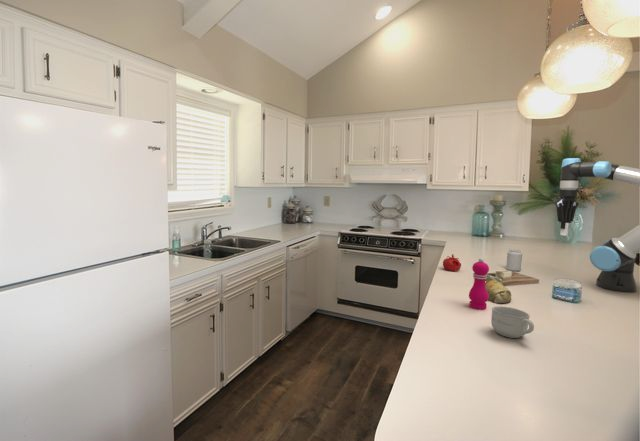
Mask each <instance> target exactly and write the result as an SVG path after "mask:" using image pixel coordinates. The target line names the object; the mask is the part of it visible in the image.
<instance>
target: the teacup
mask: <svg viewBox="0 0 640 441" xmlns="http://www.w3.org/2000/svg"><path fill="white" fill-rule="evenodd" d="M530 318H531V316H530V313H528V312H526V311H524V310H522V309H519V308H515V307H510V306H502V305H496V306H492V307H491V322H490V323H491V327H492V328H493V330H495V332H496V333H497V334H498V335H500V336H503V337H507V338H513V339H517V338H521V337H522V336H525V335H528V334H531V333H532V332H533V331H534V329H535V325H534V322H533V321H532V320H530Z"/></svg>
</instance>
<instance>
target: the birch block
mask: <svg viewBox="0 0 640 441" xmlns="http://www.w3.org/2000/svg"><path fill="white" fill-rule="evenodd" d="M512 272H513V271H510V270H505V269H499V270H498V269H497V270H495V273H496V276H495V277H496V278H499V279H502V281H508V280H511V276H512Z"/></svg>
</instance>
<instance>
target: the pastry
mask: <svg viewBox="0 0 640 441" xmlns="http://www.w3.org/2000/svg"><path fill="white" fill-rule="evenodd" d="M485 287H486V290H487V292H488V297H489V299H488V301H490V302H491V303H492V302H493V303H494V304H506V303H510V302H511V301H512V292H511V291H510V290H509V289H508V288H507V286H503V284H502V283H500V282H497V281H494V280H489V281H487V282H486V281H485Z"/></svg>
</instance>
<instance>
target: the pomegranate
mask: <svg viewBox="0 0 640 441" xmlns="http://www.w3.org/2000/svg"><path fill="white" fill-rule="evenodd" d="M442 267H443V269H445V271H448V272H458V271H460V269H461V267H462V264H461V262H460V258H458V257H455V255H454V254H451V257H450V256H449V255H448V256H446V258H444V259H443V261H442Z"/></svg>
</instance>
